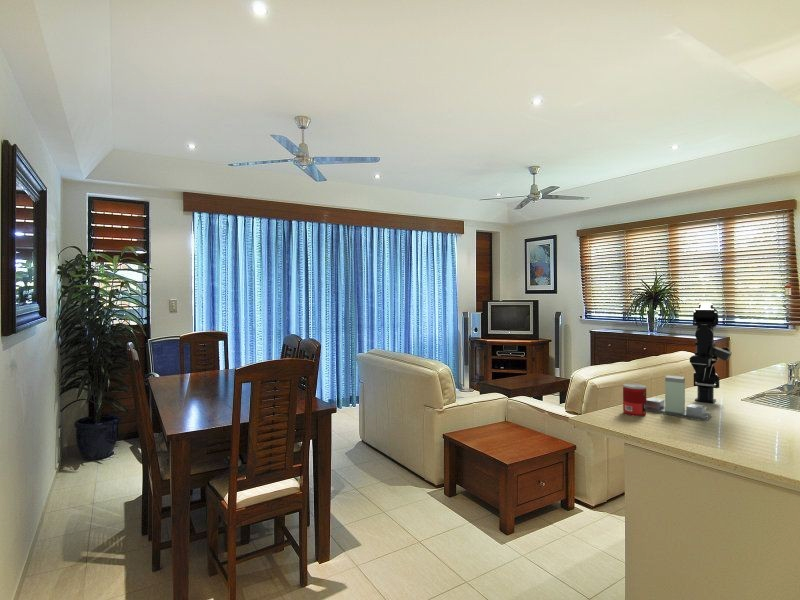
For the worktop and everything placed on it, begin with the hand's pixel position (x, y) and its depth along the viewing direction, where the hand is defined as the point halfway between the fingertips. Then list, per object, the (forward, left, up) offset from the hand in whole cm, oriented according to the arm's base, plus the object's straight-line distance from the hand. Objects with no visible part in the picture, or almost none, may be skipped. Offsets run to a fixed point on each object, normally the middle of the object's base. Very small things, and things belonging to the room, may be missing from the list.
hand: (704, 379), depth 177 cm
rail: (+14, -7, -12) cm, 20 cm away
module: (+14, -7, -11) cm, 19 cm away
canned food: (+25, -18, -12) cm, 33 cm away
